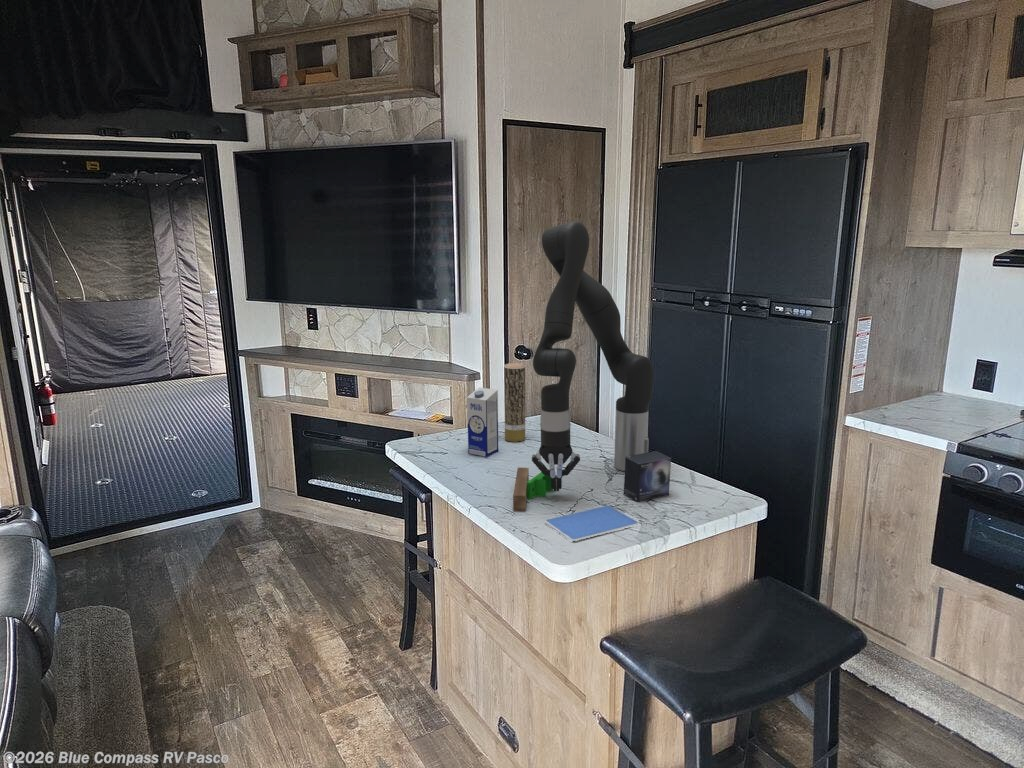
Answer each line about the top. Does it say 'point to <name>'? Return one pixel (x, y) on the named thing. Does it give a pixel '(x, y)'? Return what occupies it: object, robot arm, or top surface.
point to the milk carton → (482, 422)
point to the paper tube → (514, 401)
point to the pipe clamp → (538, 486)
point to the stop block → (520, 489)
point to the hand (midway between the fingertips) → (556, 490)
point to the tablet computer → (590, 523)
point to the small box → (647, 476)
